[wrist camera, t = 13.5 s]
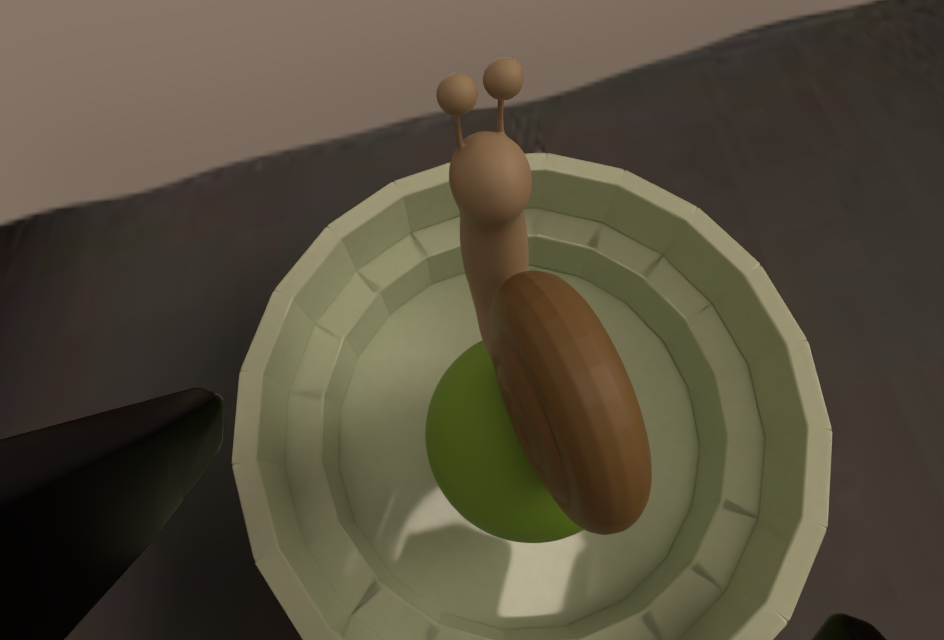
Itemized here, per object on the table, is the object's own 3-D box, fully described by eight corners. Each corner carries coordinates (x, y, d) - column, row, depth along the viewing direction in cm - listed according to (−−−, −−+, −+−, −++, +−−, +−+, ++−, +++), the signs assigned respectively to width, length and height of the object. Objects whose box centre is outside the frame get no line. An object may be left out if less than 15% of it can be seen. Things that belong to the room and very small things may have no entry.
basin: (283, 700, 16) (202, 775, 11) (306, 247, 21) (256, 166, 16) (785, 669, 16) (914, 730, 11) (692, 227, 21) (755, 141, 16)
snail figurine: (549, 309, 19) (657, -8, 8) (641, 494, 17) (977, 437, 6) (397, 371, 18) (267, 123, 7) (474, 571, 16) (469, 683, 5)
